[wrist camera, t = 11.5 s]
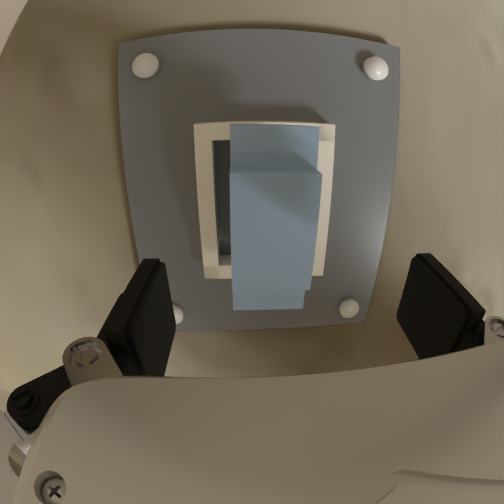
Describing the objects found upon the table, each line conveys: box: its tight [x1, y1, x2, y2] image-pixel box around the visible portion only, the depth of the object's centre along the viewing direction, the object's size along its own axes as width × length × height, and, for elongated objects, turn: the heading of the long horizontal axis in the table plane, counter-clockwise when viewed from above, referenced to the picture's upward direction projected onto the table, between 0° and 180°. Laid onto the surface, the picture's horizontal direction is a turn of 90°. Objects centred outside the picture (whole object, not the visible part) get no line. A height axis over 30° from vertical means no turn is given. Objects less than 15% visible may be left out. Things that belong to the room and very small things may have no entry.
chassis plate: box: [118, 29, 400, 330], centre depth 19 cm, size 18×22×2 cm
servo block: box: [230, 124, 323, 310], centre depth 17 cm, size 4×10×6 cm, turn 179°
